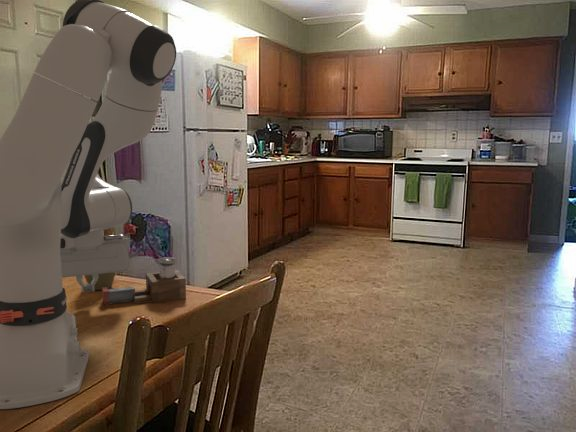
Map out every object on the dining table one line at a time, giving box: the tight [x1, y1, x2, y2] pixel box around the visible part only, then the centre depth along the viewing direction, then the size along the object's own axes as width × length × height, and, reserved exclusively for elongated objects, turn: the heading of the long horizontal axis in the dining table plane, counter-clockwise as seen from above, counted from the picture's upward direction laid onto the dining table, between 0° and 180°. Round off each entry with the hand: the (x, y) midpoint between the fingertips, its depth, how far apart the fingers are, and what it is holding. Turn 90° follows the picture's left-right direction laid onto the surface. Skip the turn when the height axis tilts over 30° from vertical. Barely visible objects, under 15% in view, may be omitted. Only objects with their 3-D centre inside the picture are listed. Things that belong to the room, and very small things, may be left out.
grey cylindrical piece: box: [157, 256, 177, 280], centre depth 135 cm, size 5×5×10 cm
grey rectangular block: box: [101, 285, 136, 307], centre depth 130 cm, size 4×8×4 cm, turn 116°
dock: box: [133, 269, 187, 304], centre depth 135 cm, size 9×13×6 cm
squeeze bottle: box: [83, 235, 116, 291], centre depth 140 cm, size 8×8×18 cm
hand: (88, 291), depth 127 cm, fingers closed
